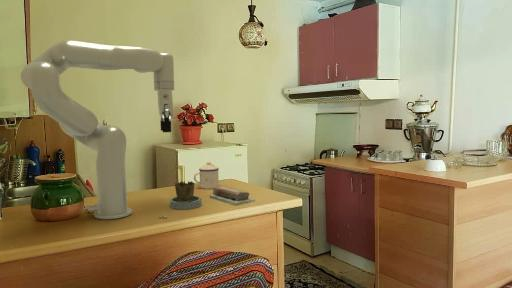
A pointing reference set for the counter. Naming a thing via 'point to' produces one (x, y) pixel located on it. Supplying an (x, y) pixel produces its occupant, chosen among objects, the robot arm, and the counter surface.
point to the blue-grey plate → (185, 203)
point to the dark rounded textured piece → (184, 191)
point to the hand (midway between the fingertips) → (165, 131)
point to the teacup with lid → (208, 176)
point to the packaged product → (231, 195)
